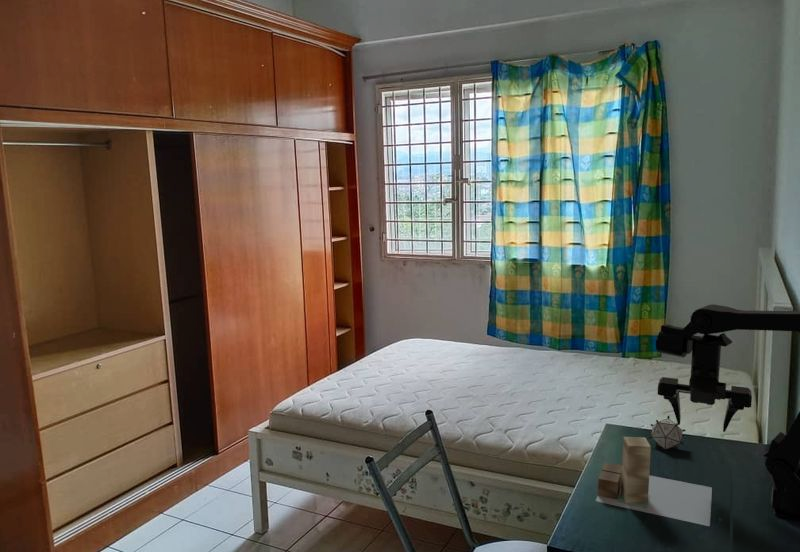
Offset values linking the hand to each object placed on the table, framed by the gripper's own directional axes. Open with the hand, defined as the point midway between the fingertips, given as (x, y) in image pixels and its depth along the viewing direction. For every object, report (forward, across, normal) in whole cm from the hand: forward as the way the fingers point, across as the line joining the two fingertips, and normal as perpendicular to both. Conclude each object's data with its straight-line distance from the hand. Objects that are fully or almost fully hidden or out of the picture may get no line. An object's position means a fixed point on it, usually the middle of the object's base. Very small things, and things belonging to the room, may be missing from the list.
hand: (701, 427), depth 141 cm
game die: (+13, -8, +15) cm, 22 cm away
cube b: (+12, -17, -12) cm, 24 cm away
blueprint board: (+13, -8, -12) cm, 20 cm away
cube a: (+12, -17, -16) cm, 27 cm away
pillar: (+12, -12, -16) cm, 23 cm away
